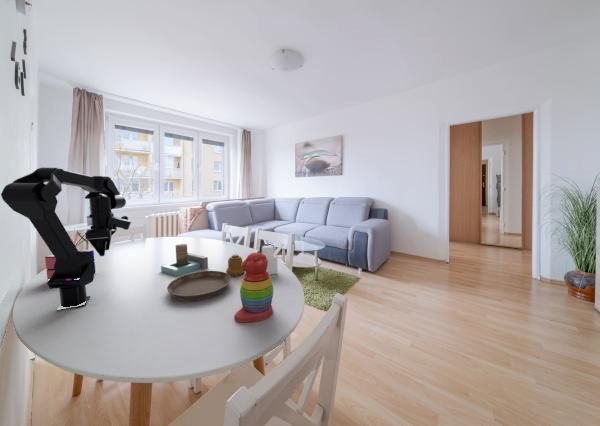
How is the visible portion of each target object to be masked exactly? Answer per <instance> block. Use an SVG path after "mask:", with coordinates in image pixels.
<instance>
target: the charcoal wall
mask: <svg viewBox="0 0 600 426" xmlns="http://www.w3.org/2000/svg"><path fill="white" fill-rule="evenodd" d="M187 253H188V260H190V261H194V262H198V263H200V268H199V269H203V270H206V269H209V263H208V262H209V260H208V258H209V257H208V256H204V255H199V254H195V253H192V252H191V253H190V252H187Z"/></svg>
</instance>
